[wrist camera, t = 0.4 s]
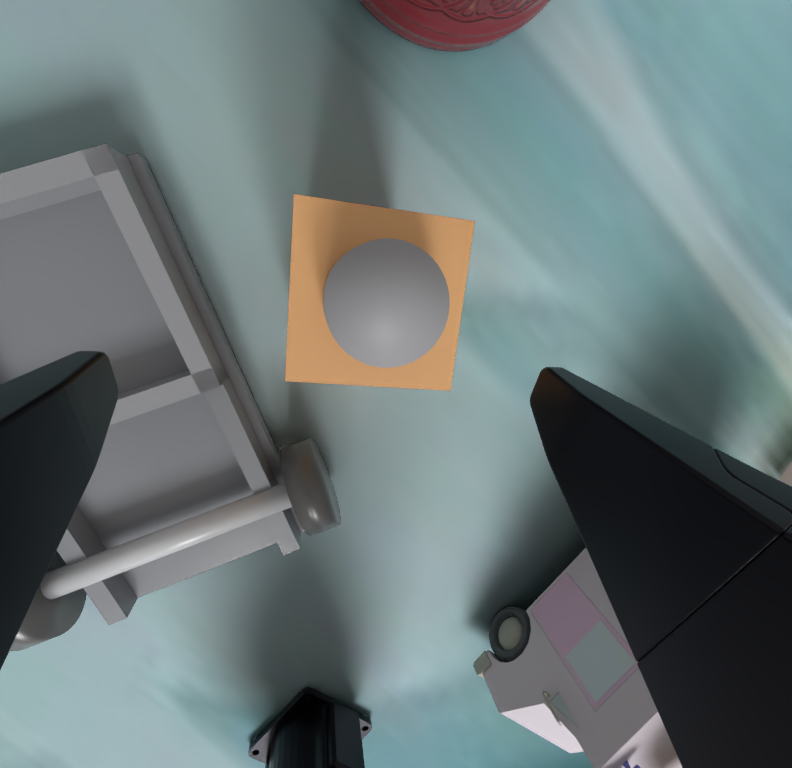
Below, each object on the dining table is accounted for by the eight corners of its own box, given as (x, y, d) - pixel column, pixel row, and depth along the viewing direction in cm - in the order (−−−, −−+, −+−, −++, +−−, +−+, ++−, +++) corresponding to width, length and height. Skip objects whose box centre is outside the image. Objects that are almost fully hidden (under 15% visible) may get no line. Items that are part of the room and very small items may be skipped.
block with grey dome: (385, 335, 24) (467, 405, 12) (298, 328, 23) (281, 396, 11) (394, 246, 23) (496, 213, 10) (302, 234, 22) (291, 182, 9)
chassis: (343, 507, 27) (350, 558, 22) (81, 610, 25) (27, 689, 20) (193, 145, 20) (156, 105, 15) (-174, 251, 19) (-340, 244, 14)
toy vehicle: (456, 637, 31) (577, 941, 17) (639, 445, 30) (933, 601, 16) (533, 686, 34) (692, 981, 20) (703, 512, 33) (1002, 695, 19)
